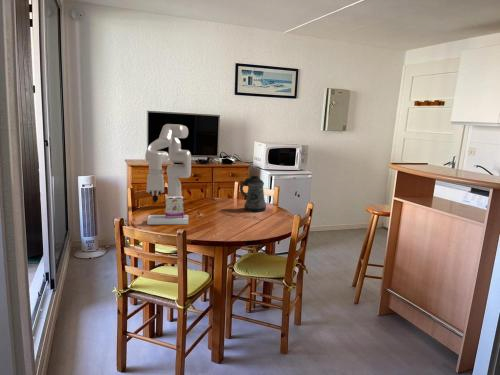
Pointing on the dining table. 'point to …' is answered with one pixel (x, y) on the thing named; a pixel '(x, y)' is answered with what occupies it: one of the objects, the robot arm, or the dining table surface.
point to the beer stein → (254, 194)
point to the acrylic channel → (166, 220)
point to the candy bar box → (174, 206)
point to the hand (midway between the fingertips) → (155, 201)
